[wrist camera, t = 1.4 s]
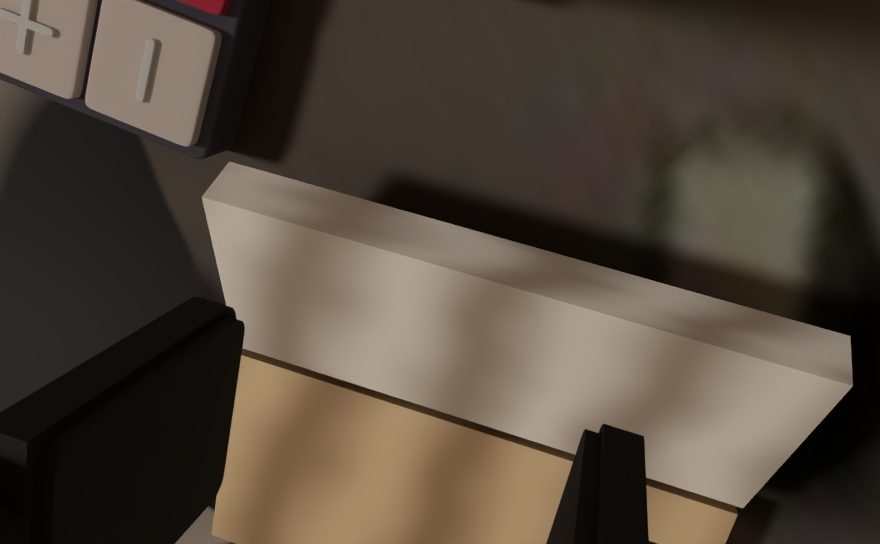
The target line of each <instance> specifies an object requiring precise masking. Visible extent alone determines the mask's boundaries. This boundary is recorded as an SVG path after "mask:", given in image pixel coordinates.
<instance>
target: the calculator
mask: <svg viewBox="0 0 880 544" xmlns="http://www.w3.org/2000/svg"><path fill="white" fill-rule="evenodd" d="M270 3H271V0H0V79H1V80H3V81H6V82H8V83H11V84H13V85H16V86H18V87H21V88H23V89H25V90H28V91H30V92H33V93H36V94H38V95H41V96H43V97H45V98H48V99H50V100H53V101H55V102H58V103H60V104H63V105H65V106H67V107H70V108H72V109H75V110H77V111H80V112H82V113H85V114H87V115H90V116H92V117H95V118H97V119H100V120H102V121H105V122H107V123H110V124H112V125H115V126H117V127H119V128H122V129H124V130H127V131H129V132H132V133H134V134H137V135H139V136H142V137H144V138H146V139H149V140H151V141H154V142H156V143H159V144H161V145H164V146H166V147H169V148H171V149H174V150H176V151H179V152H181V153H183V154H186V155H189V156H191V157H194V158H197V159H203V158H206V157H209V156H212V155H215V154H217V153H220V152H223V151H226V150H228V149H231V148H232V147H233V145H234V143H235V140H236V136H237V132H238V128H239V124H240V120H241V116H242V113H243V109H244V105H245V101H246V97H247V93H248V89H249V85H250V81H251V77H252V74H253V70H254V66H255V62H256V58H257V54H258V50H259V46H260V42H261V39H262V35H263V31H264V27H265V23H266V19H267V15H268V11H269V7H270Z"/></svg>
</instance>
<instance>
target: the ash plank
mask: <svg viewBox="0 0 880 544" xmlns="http://www.w3.org/2000/svg"><path fill="white" fill-rule="evenodd" d="M202 200H203V205H204V209H205V214H206V218H207V222H208V227H209V231H210V235H211V240H212V244H213V249H214V253H215V257H216V262H217V266H218V271H219V275H220V279H221V284H222V288H223V292H224V297H225V301H226V306H229V307H232V308H233V309H234V310H235V313H236V319H237V320H241V321H243V323H244V326H245V333H244V340H243V347H242V348H243V349H246V350H250V351H253V352H256V353H259V354H262V355H265V356H268V357H271V358H275V359H278V360H281V361H284V362H287V363H290V364H293V365H296V366H300V367H303V368H306V369H309V370H312V371H315V372H318V373H321V374H325V375H328V376H331V377H334V378H337V379H340V380H343V381H346V382H350V383H353V384H356V385H359V386H362V387H365V388H368V389H371V390H375V391H378V392H381V393H384V394H387V395H390V396H393V397H396V398H400V399H403V400H406V401H409V402H412V403H415V404H418V405H421V406H425V407H428V408H431V409H434V410H437V411H440V412H443V413H446V414H450V415H453V416H456V417H459V418H462V419H465V420H468V421H471V422H475V423H478V424H481V425H484V426H487V427H490V428H493V429H496V430H500V431H503V432H506V433H509V434H512V435H515V436H518V437H521V438H525V439H528V440H531V441H534V442H537V443H540V444H543V445H546V446H550V447H553V448H556V449H559V450H562V451H565V452H568V453H571V454H575V455H576V451H577V448H578V445H579V442H580V439H581V437H582V434H583V431H584V430H585V429H587V430H590V431H593V432H597V433H599V430H600V428H601V426H602V424H607V425H610V426H613V427H616V428H619V429H623V430H626V431H629V432H632V433H635V434H639V435H642V436H644V441H645V465H646V478H650V479H653V480H656V481H659V482H662V483H665V484H668V485H671V486H675V487H678V488H681V489H684V490H687V491H690V492H693V493H696V494H700V495H703V496H706V497H709V498H712V499H715V500H718V501H721V502H725V503H728V504H731V505H734V506H737V507H740V508H744V507H745V506H746V504H747V503H748V502H749V501H750V500H751V499H752V498H753V497H754V496H755V494H756V493H757V492H758V491H759V490H760V489H761V488H762V487H763V486H764V484H765V483H766V482H767V481H768V480H769V479H770V478H771V477H772V476H773V474H774V473H775V472H776V471H777V470H778V469H779V468H780V467H781V466H782V464H783V463H784V462H785V461H786V460H787V459H788V458H789V457H790V456H791V454H792V453H793V452H794V451H795V450H796V449H797V448H798V447H799V445H800V444H801V443H802V442H803V441H804V440H805V439H806V438H807V437H808V435H809V434H810V433H811V432H812V431H813V430H814V429H815V428H816V427H817V425H818V424H819V423H820V422H821V421H822V420H823V419H824V418H825V417H826V415H827V414H828V413H829V412H830V411H831V410H832V409H833V408H834V407H835V405H836V404H837V403H838V402H839V401H840V400H841V399H842V398H843V397H844V395H845V394H846V393H847V392H848V391H849V390H850V389H851V388H852V387H853V377H852V357H851V337H850V336H848V335H845V334H841V333H838V332H834V331H830V330H827V329H823V328H820V327H816V326H813V325H809V324H806V323H802V322H798V321H795V320H791V319H788V318H784V317H781V316H777V315H773V314H770V313H766V312H763V311H759V310H756V309H752V308H749V307H745V306H741V305H738V304H734V303H731V302H727V301H724V300H720V299H717V298H713V297H709V296H706V295H702V294H699V293H695V292H692V291H688V290H685V289H681V288H677V287H674V286H670V285H667V284H663V283H660V282H656V281H653V280H649V279H645V278H642V277H638V276H635V275H631V274H628V273H624V272H620V271H617V270H613V269H610V268H606V267H603V266H599V265H596V264H592V263H588V262H585V261H581V260H578V259H574V258H571V257H567V256H564V255H560V254H556V253H553V252H549V251H546V250H542V249H539V248H535V247H532V246H528V245H524V244H521V243H517V242H514V241H510V240H507V239H503V238H500V237H496V236H492V235H489V234H485V233H482V232H478V231H475V230H471V229H467V228H464V227H460V226H457V225H453V224H450V223H446V222H443V221H439V220H435V219H432V218H428V217H425V216H421V215H418V214H414V213H411V212H407V211H403V210H400V209H396V208H393V207H389V206H386V205H382V204H379V203H375V202H371V201H368V200H364V199H361V198H357V197H354V196H350V195H347V194H343V193H339V192H336V191H332V190H329V189H325V188H322V187H318V186H314V185H311V184H307V183H304V182H300V181H297V180H293V179H290V178H286V177H282V176H279V175H275V174H272V173H268V172H265V171H261V170H258V169H254V168H250V167H247V166H243V165H240V164H236V163H233V162H229V163H228V164H227V165H226V167H225V168H224V169H223V170H222V172H221V173H220V174H219V176H218V177H217V178H216V179H215V181H214V182H213V183H212V184H211V186H210V187H209V188H208V190H207V191H206V192H205V193H204V195H203V196H202Z"/></svg>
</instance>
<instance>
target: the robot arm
mask: <svg viewBox="0 0 880 544" xmlns="http://www.w3.org/2000/svg"><path fill="white" fill-rule="evenodd" d="M244 333H245V326H244V323H243V321H241V320H237V319H236V313H235V310H234V309H233V308H232V307H229V306H226V305H222V304H219V303H216V302H213V301H210V300H206V299H203V298H200V297H193V298H190V299H189V300H187V301H185V302H184V303H182V304H180V305H179V306H177V307H176V308H174V309H172V310H171V311H169V312H167V313H165V314H164V315H162V316H161V317H159V318H157V319H156V320H154V321H152V322H151V323H149V324H147V325H145V326H144V327H142V328H140V329H139V330H137V331H135V332H134V333H132V334H131V335H129V336H127V337H125V338H124V339H122V340H120V341H119V342H117V343H115V344H114V345H112V346H110V347H109V348H107V349H105V350H104V351H102V352H100V353H99V354H97V355H96V356H94V357H92V358H90V359H89V360H87V361H85V362H84V363H82V364H80V365H79V366H77V367H75V368H74V369H72V370H71V371H69V372H67V373H65V374H64V375H62V376H60V377H59V378H57V379H55V380H54V381H52V382H50V383H49V384H47V385H45V386H44V387H42V388H41V389H39V390H38V391H36V392H34V393H32V394H30V395H29V396H27V397H25V398H24V399H22V400H20V401H19V402H17V403H15V404H14V405H12V406H10V407H9V408H7V409H5V410H4V411H2V412H0V544H175V543H176V541H177V540H178V539H179V538H180V537H181V536H182V535H183V534H184V532H185V531H186V530H187V529H188V528H189V527H190V526H191V525H192V524H193V523H194V521H195V520H196V519H197V518H198V517H199V516H200V515H201V513H202V512H203V511H204V510H205V509H206V508H207V507H208V506H209V505H210V503H211V502H212V501H213V500H214V498H215V497H216V495H217V493H218V491H219V489H220V487H221V484H222V481H223V477H224V472H225V465H226V458H227V451H228V444H229V437H230V430H231V423H232V416H233V409H234V402H235V396H236V389H237V382H238V375H239V368H240V361H241V354H242V347H243V340H244ZM546 544H657V543H654V542H651V541H649V536H648V512H647V489H646V465H645V441H644V436H642V435H639V434H635V433H632V432H629V431H626V430H623V429H619V428H616V427H613V426H610V425H607V424H602V426H601V428H600V430H599V433H597V432H593V431H590V430H587V429H585V430H584V431H583V434H582V437H581V439H580V442H579V445H578V448H577V451H576V455H575V458H574V461H573V464H572V467H571V470H570V473H569V476H568V479H567V482H566V485H565V488H564V491H563V494H562V497H561V500H560V503H559V506H558V509H557V512H556V515H555V518H554V521H553V524H552V527H551V531H550V534H549V537H548V540H547V543H546Z"/></svg>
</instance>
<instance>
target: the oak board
mask: <svg viewBox="0 0 880 544" xmlns="http://www.w3.org/2000/svg"><path fill="white" fill-rule="evenodd" d="M574 458H575V454H571V453H568V452H565V451H562V450H559V449H556V448H553V447H550V446H546V445H543V444H540V443H537V442H534V441H531V440H528V439H525V438H521V437H518V436H515V435H512V434H509V433H506V432H503V431H500V430H496V429H493V428H490V427H487V426H484V425H481V424H478V423H475V422H471V421H468V420H465V419H462V418H459V417H456V416H453V415H450V414H446V413H443V412H440V411H437V410H434V409H431V408H428V407H425V406H421V405H418V404H415V403H412V402H409V401H406V400H403V399H400V398H396V397H393V396H390V395H387V394H384V393H381V392H378V391H375V390H371V389H368V388H365V387H362V386H359V385H356V384H353V383H350V382H346V381H343V380H340V379H337V378H334V377H331V376H328V375H325V374H321V373H318V372H315V371H312V370H309V369H306V368H303V367H300V366H296V365H293V364H290V363H287V362H284V361H281V360H278V359H275V358H271V357H268V356H265V355H262V354H259V353H256V352H253V351H250V350H246V349H242V354H241V361H240V368H239V375H238V382H237V389H236V396H235V402H234V409H233V416H232V423H231V430H230V437H229V444H228V451H227V458H226V465H225V472H224V477H223V481H222V484H221V487H220V489H219V491H218V493H217V498H216V506H215V513H214V520H213V527H212V535H214V536H217V537H220V538H222V539H225V540H228V541H231V542H233V543H236V544H546V543H547V540H548V537H549V534H550V531H551V527H552V524H553V521H554V518H555V515H556V512H557V509H558V506H559V503H560V500H561V497H562V494H563V491H564V488H565V485H566V482H567V479H568V476H569V473H570V470H571V467H572V464H573V461H574ZM646 489H647V512H648V536H649V541H651V542H654V543H657V544H725V543H726V541H727V539H728V536H729V534H730V532H731V529H732V527H733V525H734V522H735V520H736V518H737V515H738V513H737V509H736V506H734V505H731V504H728V503H725V502H721V501H718V500H715V499H712V498H709V497H706V496H703V495H700V494H696V493H693V492H690V491H687V490H684V489H681V488H678V487H675V486H671V485H668V484H665V483H662V482H659V481H656V480H653V479H650V478H646Z"/></svg>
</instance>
